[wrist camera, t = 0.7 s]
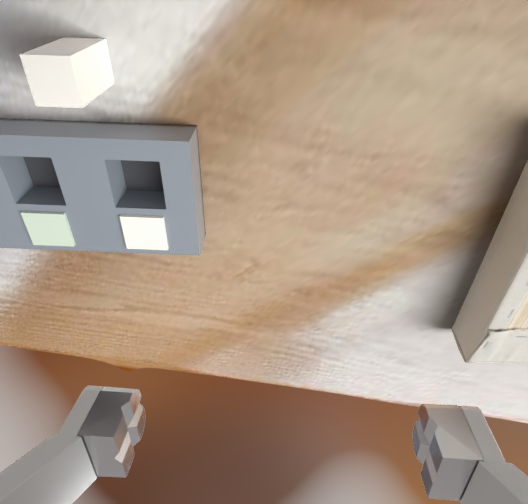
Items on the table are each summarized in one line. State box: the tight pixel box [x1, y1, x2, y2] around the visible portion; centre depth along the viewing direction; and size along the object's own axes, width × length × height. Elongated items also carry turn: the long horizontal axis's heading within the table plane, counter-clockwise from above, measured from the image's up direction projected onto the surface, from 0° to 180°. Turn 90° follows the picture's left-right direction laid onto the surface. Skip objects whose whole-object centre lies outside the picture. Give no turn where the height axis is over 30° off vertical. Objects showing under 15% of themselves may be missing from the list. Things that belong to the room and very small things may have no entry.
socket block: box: [0, 119, 205, 256], centre depth 44 cm, size 14×34×5 cm, turn 89°
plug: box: [19, 37, 114, 108], centre depth 35 cm, size 4×4×8 cm
